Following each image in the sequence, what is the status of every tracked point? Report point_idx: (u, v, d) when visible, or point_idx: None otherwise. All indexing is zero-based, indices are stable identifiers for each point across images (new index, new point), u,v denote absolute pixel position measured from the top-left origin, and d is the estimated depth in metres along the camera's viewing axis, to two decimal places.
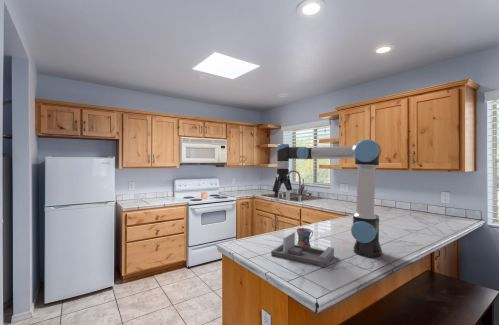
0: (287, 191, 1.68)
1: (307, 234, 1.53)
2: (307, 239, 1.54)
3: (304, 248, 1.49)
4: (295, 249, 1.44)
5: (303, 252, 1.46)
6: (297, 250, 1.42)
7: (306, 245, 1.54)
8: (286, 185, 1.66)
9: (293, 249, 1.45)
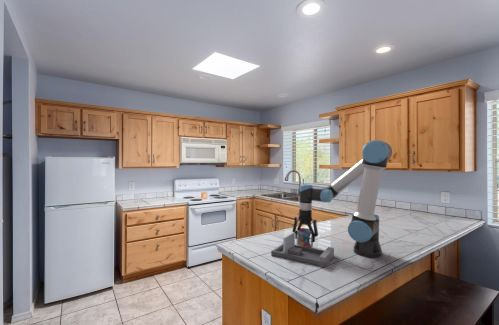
0: None
1: (307, 234, 1.53)
2: (307, 239, 1.54)
3: (304, 248, 1.49)
4: (295, 249, 1.44)
5: (303, 252, 1.46)
6: (297, 250, 1.42)
7: (306, 245, 1.53)
8: None
9: (293, 249, 1.45)
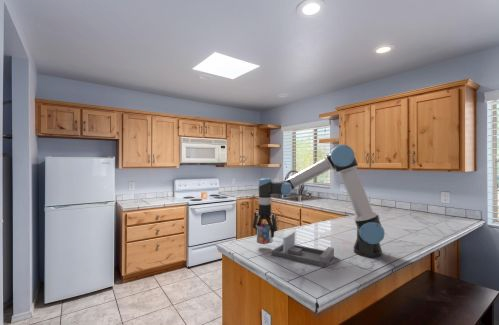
0: None
1: (266, 229, 1.50)
2: (266, 234, 1.51)
3: (304, 248, 1.49)
4: (295, 249, 1.44)
5: (303, 252, 1.46)
6: (297, 250, 1.42)
7: (265, 240, 1.50)
8: None
9: (293, 249, 1.45)
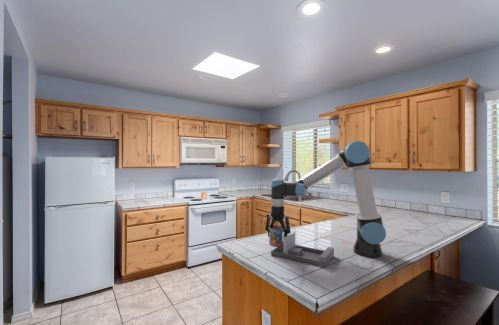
0: None
1: (279, 232, 1.46)
2: (279, 237, 1.46)
3: (304, 248, 1.49)
4: (295, 249, 1.44)
5: (303, 252, 1.46)
6: (297, 250, 1.42)
7: (278, 243, 1.46)
8: None
9: (294, 249, 1.45)
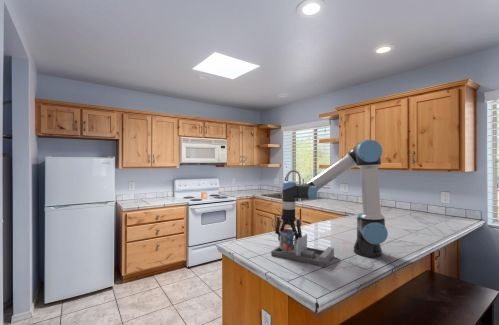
0: None
1: (290, 235, 1.42)
2: (290, 241, 1.43)
3: None
4: (308, 252, 1.40)
5: None
6: (310, 253, 1.38)
7: (289, 247, 1.42)
8: None
9: (306, 251, 1.41)
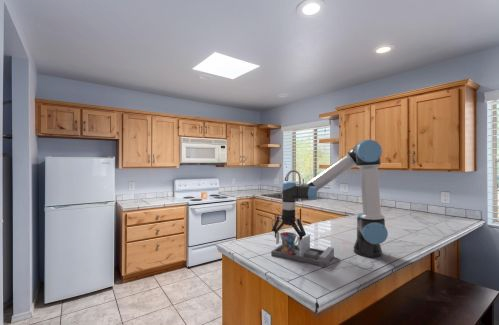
0: None
1: (291, 239, 1.42)
2: (291, 244, 1.43)
3: None
4: (311, 252, 1.39)
5: None
6: (313, 253, 1.38)
7: (290, 251, 1.42)
8: None
9: (309, 252, 1.40)
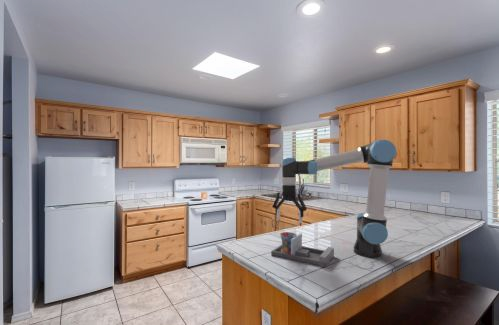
0: None
1: None
2: None
3: (304, 248, 1.49)
4: (303, 251, 1.42)
5: None
6: (305, 252, 1.40)
7: (290, 251, 1.42)
8: None
9: (301, 250, 1.42)
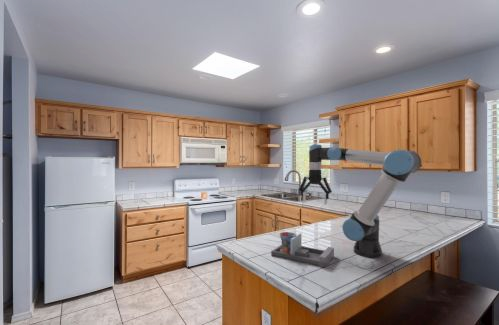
0: None
1: None
2: None
3: (304, 248, 1.49)
4: (302, 250, 1.42)
5: None
6: (304, 251, 1.40)
7: None
8: None
9: (300, 250, 1.43)
